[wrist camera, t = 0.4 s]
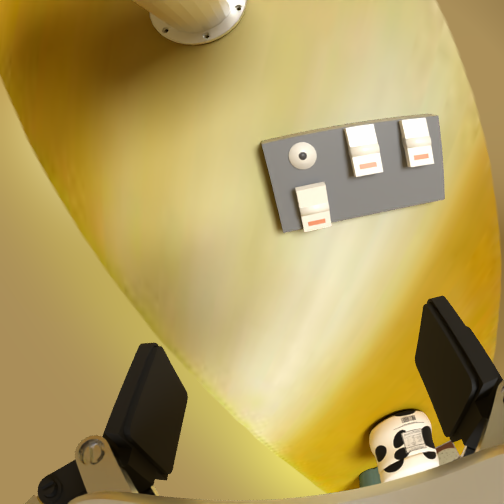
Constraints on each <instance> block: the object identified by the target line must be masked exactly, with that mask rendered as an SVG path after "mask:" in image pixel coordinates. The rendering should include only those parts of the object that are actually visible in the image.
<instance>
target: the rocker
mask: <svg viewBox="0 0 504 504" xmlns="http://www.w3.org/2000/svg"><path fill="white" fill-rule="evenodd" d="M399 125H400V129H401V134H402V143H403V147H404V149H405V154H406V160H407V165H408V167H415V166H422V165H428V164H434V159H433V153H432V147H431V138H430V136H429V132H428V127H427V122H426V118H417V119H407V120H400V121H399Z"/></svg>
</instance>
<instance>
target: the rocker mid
mask: <svg viewBox="0 0 504 504" xmlns="http://www.w3.org/2000/svg"><path fill="white" fill-rule="evenodd" d="M344 132H345V136H346V140H347V145H348V151H349V155H350V158H351V163H352V168H353V173H354V176H355V177H358V176H364V175H369V174H375V173H380V172H383V167H382V162H381V157H380V148H379V145H378V142H377V138H376V133H375V129H374V124H369V125H362V126H356V127H349V128H344Z"/></svg>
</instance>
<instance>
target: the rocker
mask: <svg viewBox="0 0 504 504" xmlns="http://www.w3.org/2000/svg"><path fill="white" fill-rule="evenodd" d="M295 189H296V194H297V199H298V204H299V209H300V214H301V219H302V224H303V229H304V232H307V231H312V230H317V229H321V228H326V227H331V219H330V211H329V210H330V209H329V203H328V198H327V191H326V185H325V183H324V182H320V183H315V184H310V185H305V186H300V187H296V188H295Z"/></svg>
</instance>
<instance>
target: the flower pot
mask: <svg viewBox="0 0 504 504" xmlns="http://www.w3.org/2000/svg"><path fill="white" fill-rule="evenodd" d="M359 480H360V488H362V487H367V486H371V485H376V484H380V483H381V480H380V474H379V471H378V467H377V468H375V469H369V470H367V471H364V472H363V473H361V474H360V476H359Z"/></svg>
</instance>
